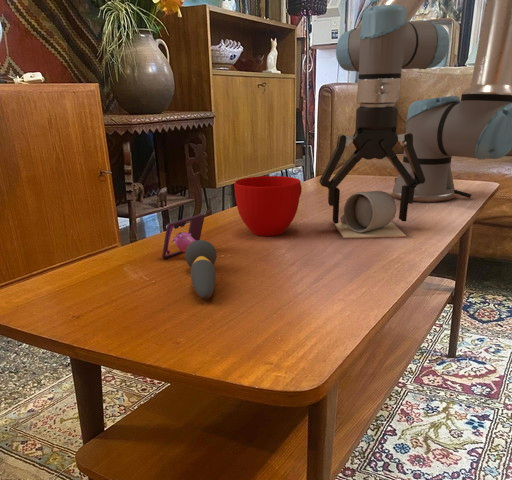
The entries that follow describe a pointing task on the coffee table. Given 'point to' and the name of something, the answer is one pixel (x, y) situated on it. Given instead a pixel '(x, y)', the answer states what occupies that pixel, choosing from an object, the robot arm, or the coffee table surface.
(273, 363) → the coffee table surface
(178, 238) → the purple open frame
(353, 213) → the ceramic mug
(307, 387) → the coffee table surface
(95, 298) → the coffee table surface
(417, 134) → the robot arm
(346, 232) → the coaster
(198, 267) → the grey wand massager
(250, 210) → the ceramic cup
